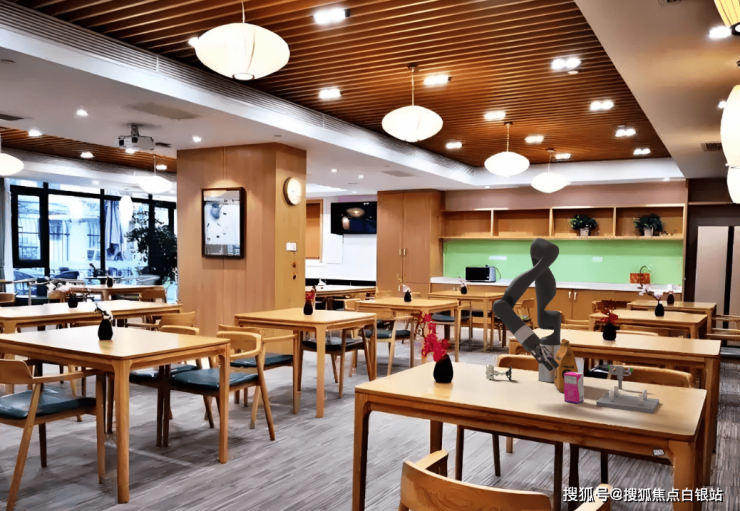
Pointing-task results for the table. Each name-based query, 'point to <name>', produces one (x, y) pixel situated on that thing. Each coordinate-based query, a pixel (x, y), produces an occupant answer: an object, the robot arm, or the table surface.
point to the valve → (496, 372)
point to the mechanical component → (619, 373)
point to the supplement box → (573, 387)
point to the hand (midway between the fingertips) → (554, 368)
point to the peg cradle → (628, 401)
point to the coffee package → (564, 364)
